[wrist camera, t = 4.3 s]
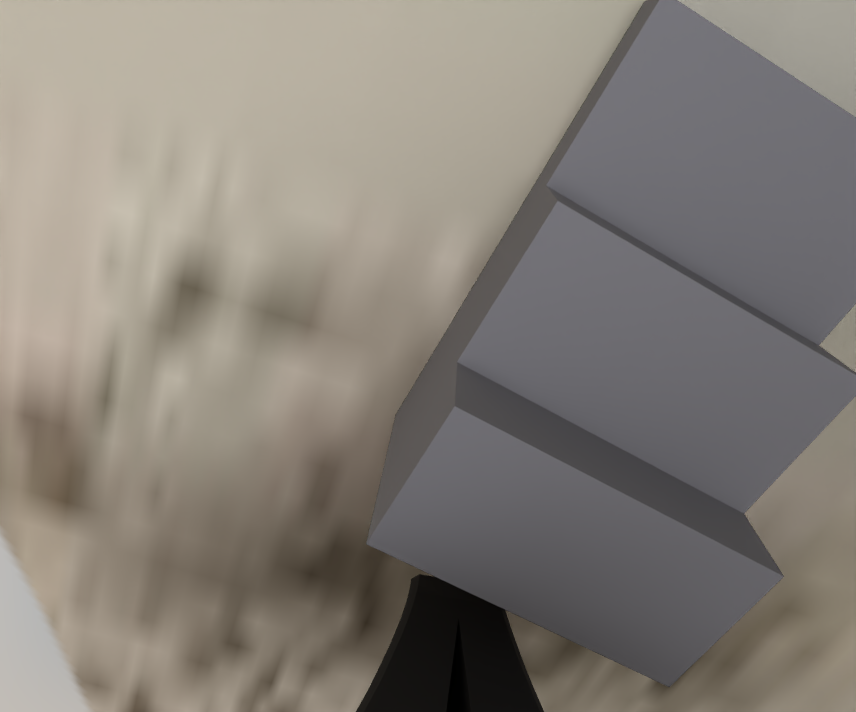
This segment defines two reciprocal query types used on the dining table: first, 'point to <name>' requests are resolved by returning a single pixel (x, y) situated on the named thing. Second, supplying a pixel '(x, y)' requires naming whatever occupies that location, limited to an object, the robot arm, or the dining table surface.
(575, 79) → the dining table surface
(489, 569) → the grey stepped block
